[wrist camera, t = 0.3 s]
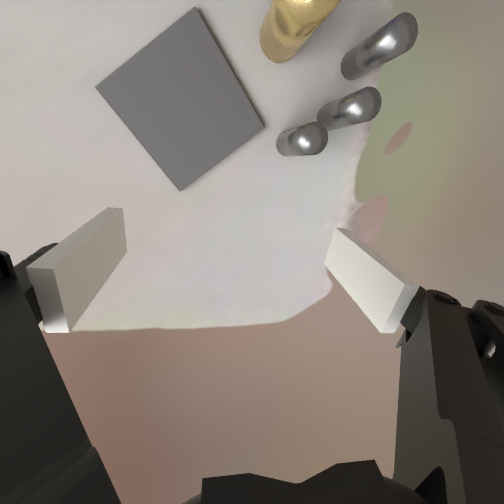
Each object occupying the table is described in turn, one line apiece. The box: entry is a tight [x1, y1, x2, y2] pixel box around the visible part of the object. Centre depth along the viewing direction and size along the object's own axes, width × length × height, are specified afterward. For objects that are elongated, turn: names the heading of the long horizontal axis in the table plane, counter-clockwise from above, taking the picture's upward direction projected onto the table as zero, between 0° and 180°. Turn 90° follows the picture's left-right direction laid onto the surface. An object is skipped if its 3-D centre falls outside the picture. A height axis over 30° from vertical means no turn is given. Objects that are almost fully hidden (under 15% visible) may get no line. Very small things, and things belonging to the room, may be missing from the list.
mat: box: [95, 7, 264, 191], centre depth 34 cm, size 16×16×1 cm
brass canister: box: [260, 0, 341, 63], centre depth 27 cm, size 6×6×13 cm
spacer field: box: [276, 12, 418, 156], centre depth 28 cm, size 29×18×10 cm, turn 34°
